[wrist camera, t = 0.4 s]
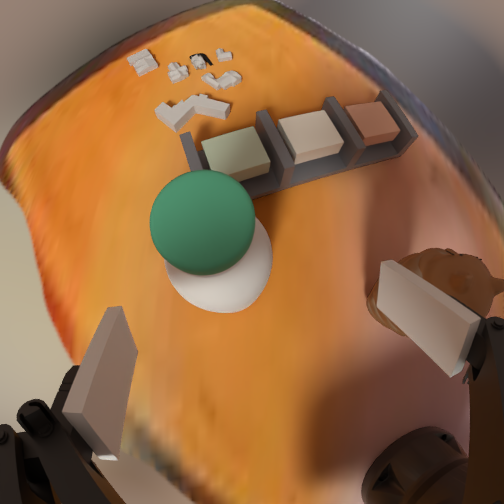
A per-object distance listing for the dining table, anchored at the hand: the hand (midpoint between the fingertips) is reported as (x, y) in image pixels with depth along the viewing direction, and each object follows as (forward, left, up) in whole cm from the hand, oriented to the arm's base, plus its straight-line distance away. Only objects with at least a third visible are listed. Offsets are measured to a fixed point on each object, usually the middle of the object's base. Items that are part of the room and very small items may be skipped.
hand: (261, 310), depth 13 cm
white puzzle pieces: (+36, -5, -18) cm, 40 cm away
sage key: (+16, -4, -15) cm, 22 cm away
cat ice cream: (-5, -14, -18) cm, 23 cm away
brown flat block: (+16, -22, -15) cm, 31 cm away
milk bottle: (+4, +1, -18) cm, 18 cm away
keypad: (+16, -13, -17) cm, 27 cm away
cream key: (+16, -13, -15) cm, 25 cm away
